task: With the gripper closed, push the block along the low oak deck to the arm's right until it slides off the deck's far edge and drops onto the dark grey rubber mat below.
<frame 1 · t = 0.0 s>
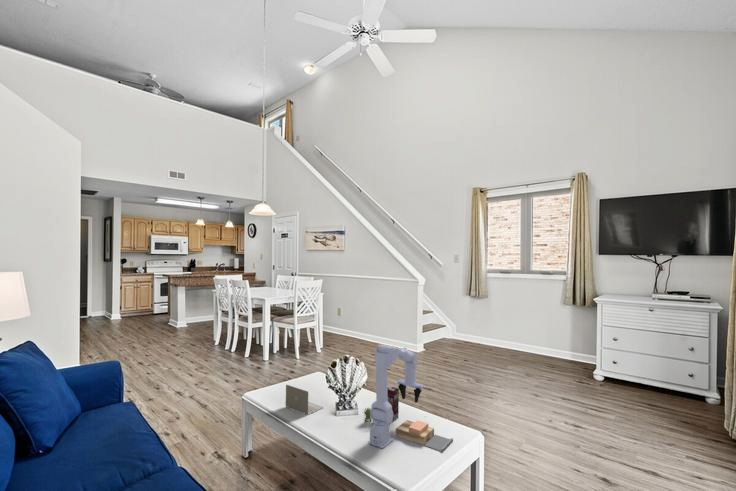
hand: (410, 400, 196), 10 cm above the table, fingers open, 7 cm apart
mat: (438, 443, 172), on the table
deck: (414, 435, 179), on the table
supplement box: (389, 417, 199), on the table, touching gripper
green toy figurine: (368, 422, 192), on the table
laptop: (304, 408, 210), on the table
block: (418, 429, 178), point 3 cm above the table, touching deck
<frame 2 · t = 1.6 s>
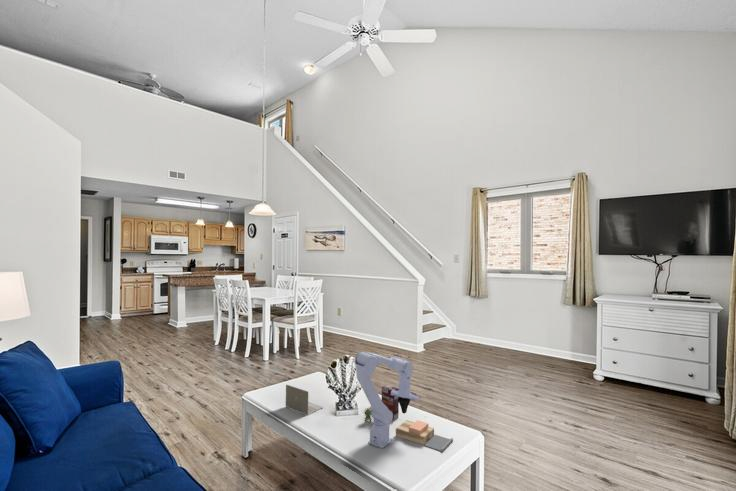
hand: (404, 412, 183), 10 cm above the table, fingers closed
supplement box: (389, 417, 199), on the table
everything else where it was.
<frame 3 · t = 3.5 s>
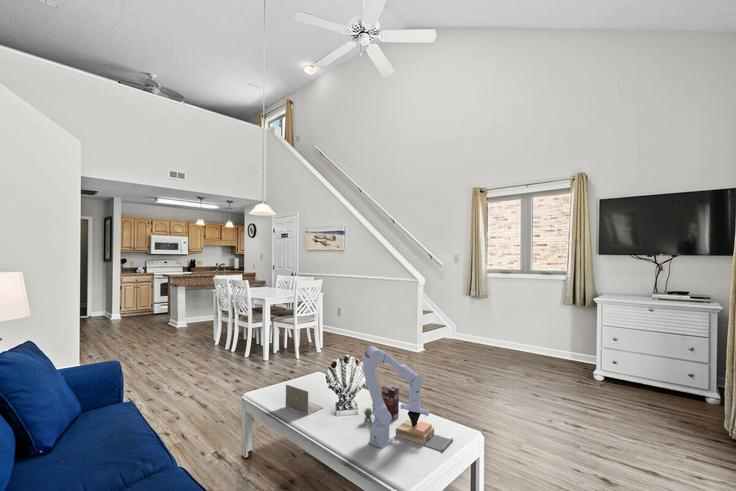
hand: (414, 426, 179), 4 cm above the table, fingers closed
block: (421, 430, 177), point 4 cm above the table, touching deck
everything else where it was.
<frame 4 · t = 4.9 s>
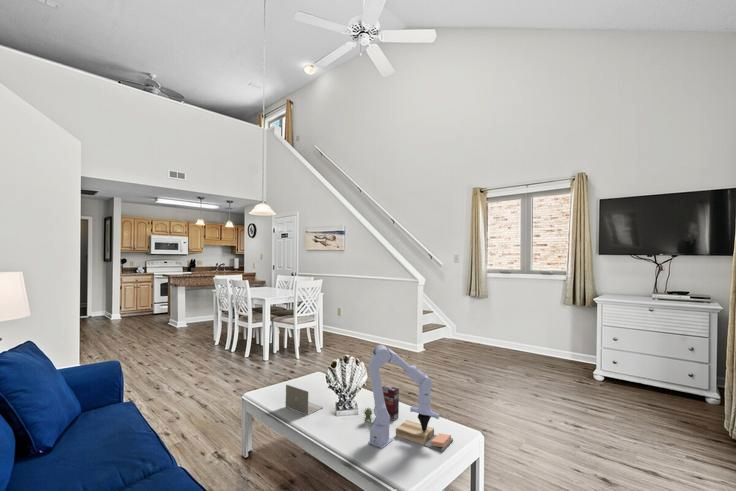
hand: (424, 430, 176), 4 cm above the table, fingers closed
block: (441, 438, 171), point 3 cm above the table, tilted 171°, touching mat
everything else where it was.
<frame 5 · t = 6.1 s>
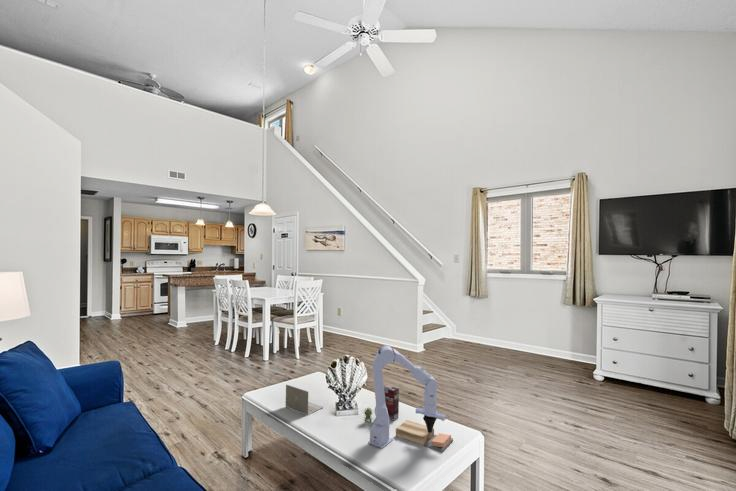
hand: (430, 431, 174), 4 cm above the table, fingers closed
nothing on the table moved.
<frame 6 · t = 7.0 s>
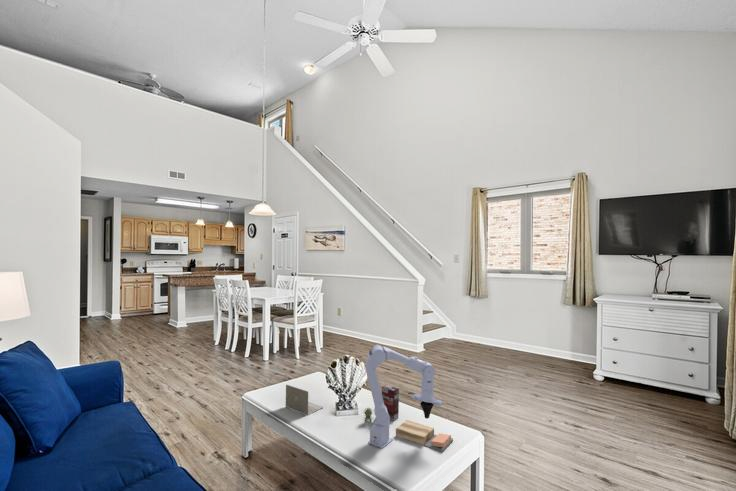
hand: (427, 417, 175), 10 cm above the table, fingers closed
nothing on the table moved.
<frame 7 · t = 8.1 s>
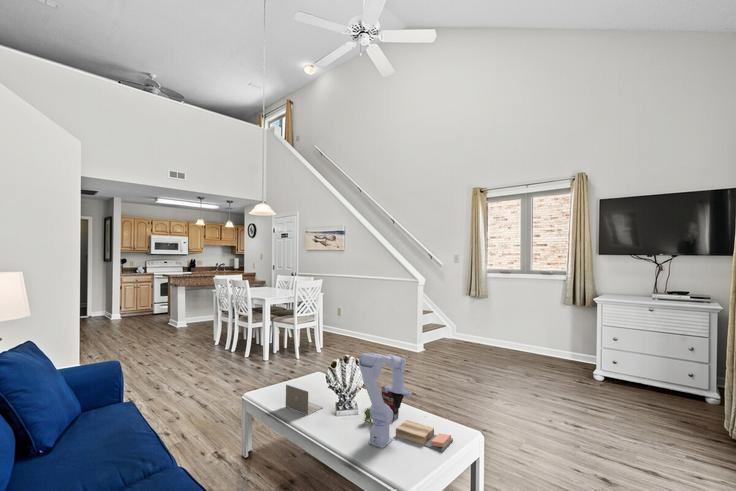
hand: (397, 407, 186), 10 cm above the table, fingers closed
nothing on the table moved.
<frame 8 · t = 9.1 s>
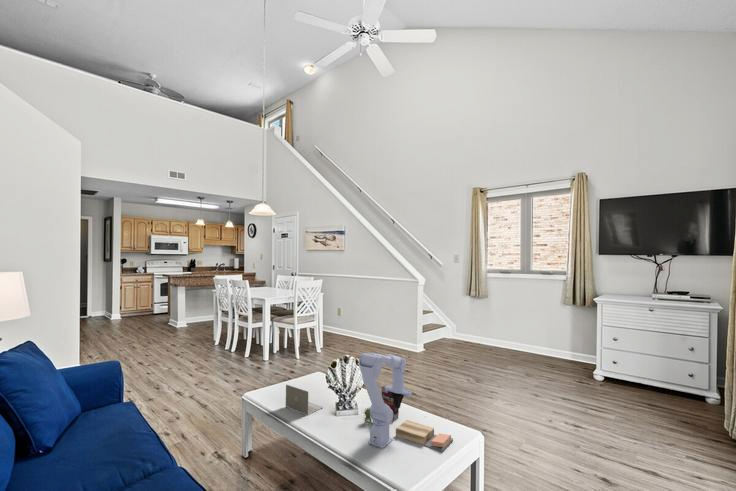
hand: (397, 407, 186), 10 cm above the table, fingers closed
nothing on the table moved.
at the end: block inside the target area (0.8 cm from its centre), point 2.8 cm above the table; block touching mat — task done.
